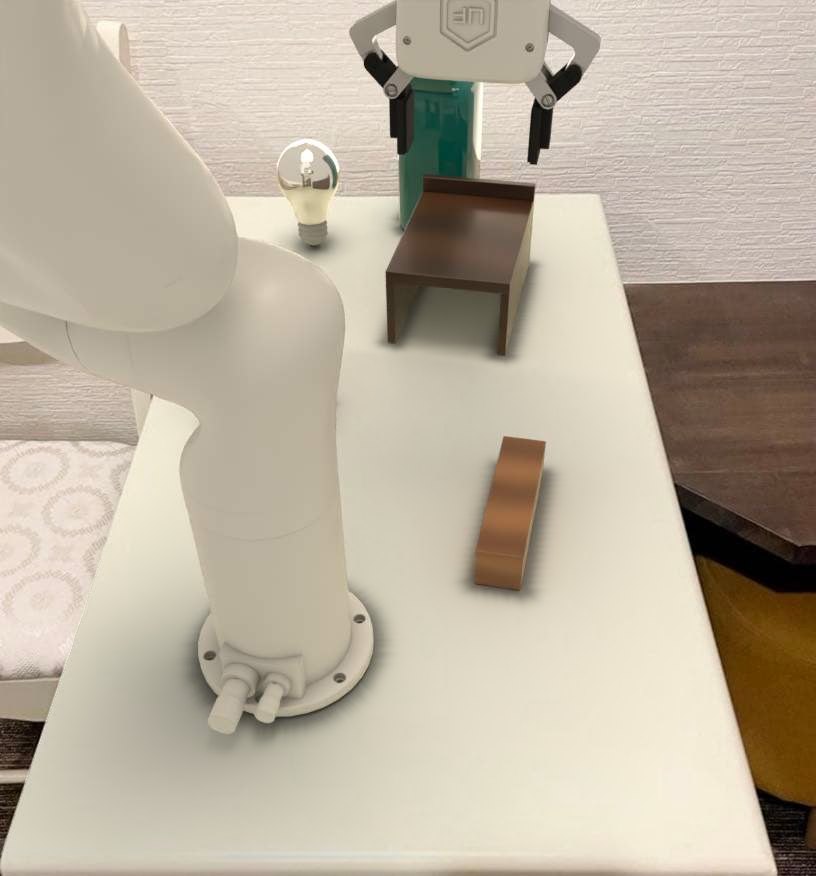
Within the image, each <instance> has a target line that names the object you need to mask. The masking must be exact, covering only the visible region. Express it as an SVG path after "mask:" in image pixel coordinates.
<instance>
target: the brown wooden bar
mask: <svg viewBox="0 0 816 876" xmlns="http://www.w3.org/2000/svg"><path fill="white" fill-rule="evenodd" d="M546 447H547V441H545V440H539V439H532V438H531V439H530V438H523V437H517V436H516V437H515V436H507V435H503V437H502V440H501V444H500V449H499V453H498V458H497V461H496V466H495V469H494V474H493V478H492V482H491V487H490V489H489V494H488V498H487V501H486V507H485V510H484V514H483V519H482V522H481V523H482V524H481V528H480V531H479V535H478V539H477V544H476V547H475V556H474V557H475V558H474V575H473V576H474V577H473V583H474V584H475V585H480V586H481V585H482V586H489V587H495V588H503V589H509V590H516V591H521V589H522V583H523V578H524V573H525V568H526V563H527V558H528V552H529V548H530V547H529V546H530V541H531V536H532V532H533V526H534V521H535V515H536V510H537V505H538V500H539V495H540V490H541V484H542V478H543V473H544V465H545V455H546Z"/></svg>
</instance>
